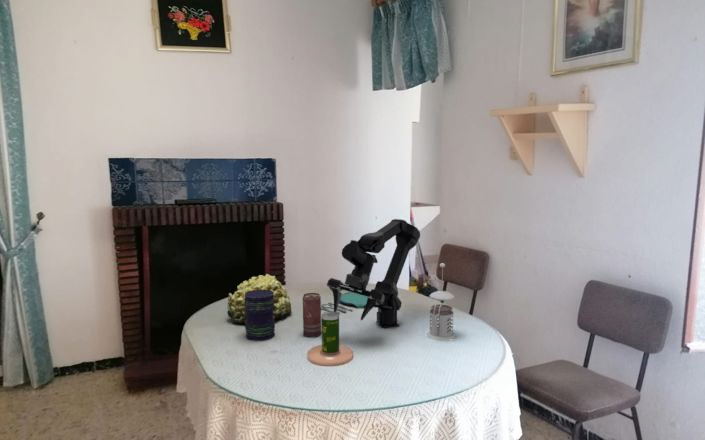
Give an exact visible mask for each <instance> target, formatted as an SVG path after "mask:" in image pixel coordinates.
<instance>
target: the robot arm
mask: <svg viewBox="0 0 705 440" xmlns="http://www.w3.org/2000/svg"><path fill="white" fill-rule="evenodd" d="M394 237H395V239H394V240H395V242H396V247H395V249H394V252H393V255H392V257H391V260H390V263H389V266H388V268H387V271H386V273H385V275H384V278H383V279H382V280H381V281H380V280H378V281H377V282H376V283H375V287H374V289H373V288H371V290H369V291H366V290H367V286H368V285H369V282H370V281H369V280H370V277H371V273H372V270H373V267H374V264H378V263H379V262H378V259H377V257H376V255H375V254H379V253H381V251H383V249H384V248H385V244H386V243H387V242H388V241H389V240H391V239H392V238H394ZM420 237H421V232H420V230H419V229H418V227H416V226H415V225H413V224H410V223H408V222H407V221H406V219H405V220H404V219H400V218H397V219H396V218H395V219H391V220H390V222H389V223H387V224H386V225H384V226H383V227H381V228H380V229H378V230H377V231H373V232H368V233H365V234H362V236H361V237H360V238H359V239H358V240H354V239H351V240H350V242H349V243H347V244H346V245H345V246H343V248H342V250H341V257H342V258H344V260H346V261H347V262H348V263H350V264H351V265H352V266H354V268H353V269H352V271H351V273H347V274H346V277H345V281H344V283H343V282H342V281H341V280H340V279H335V278H333V277H331V278H329V279H328V280H327V283H326V286H327V287H328V288H329V290H330V291H331V292H332V296H333V304H334V305H333V308H334V309H333V311H334V312H338V310H337V308H338V309H339V307H338V305H339V304H340V298H341V295H342V294H343V293H342V291H346V292H347V293H348V292H352V293H356V294H359V295H363V296H367V297H370V298H368V299H367V303H366V305H365V306H364V307H363V308H364V309H363V311H362V314H361V315H360V316H361V317H360V321H363V320H364V319H365V318H366V316H367V315H368V314H369V312H370V311H371V310H372V309H373V308H377V312H376V322H375V323H376V324H377V325H379V326H380V327H381V328H383V329H384V328H385V329H386V328H393V327H399V326H400V324H399V323H398V311H400V309H401V308H402V304H403V303H402V301H401V300H400V298H399V291H398V286H397V285H398V282H399V279H400V277H401V274H402V271H403V269H404V267H405V263H406V261H407V258H408V255H409V252H410V251H411V250H412V249H413V248H414V247H416V245H417V244H418V242H419V240H420V239H421V238H420ZM370 253H373V254H370ZM358 290H359V291H362V292H359V291H358ZM370 291H371V292H370ZM339 306H340V305H339Z"/></svg>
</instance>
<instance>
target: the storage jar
mask: <svg viewBox="0 0 705 440" xmlns="http://www.w3.org/2000/svg"><path fill="white" fill-rule="evenodd" d="M273 295H274V292H273V291H271V290H264V289H260V290H252V291H248V292H246V293H245V311H246V322H245V323H244V324H245V334H246V335H245V338H246V340H248V341H251V342H264V341H269V340H271V339H273V338H274V337H275V334H276V333H275V330H276V329H275V328H276V324H275V323H276V322H275V321H274V314H273V309H274V296H273Z"/></svg>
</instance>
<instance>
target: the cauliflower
mask: <svg viewBox="0 0 705 440" xmlns="http://www.w3.org/2000/svg"><path fill="white" fill-rule="evenodd" d="M277 279H278V278H276V276H275V275H270V274H268V273H266V274H265V275H261V274H259V275H258V276H252V277H250V278H249V279H248V280H244V281H242V282H241V283H240V284H239V285H237V287H236V288H237V290H236V291H234V293H233V294H232V293H231V292H229V293H228V297H226V298H227V301H228V302H227V316H228V317H230V320H231V321H232V322H233V323H236V324H237V323H238V324H245V322H246V311H245V293H246V292H248V291H252V290H260V289H264V290H271V291H273V292H274V295H273V296H274V309H273V314H274V321H275V323H276V322H277V321H280V320H282V319H283V318H285V319H286V318H288V316H291V315H292V313H293V312H292V303H291V301H290V296H289V295H288V289H286V288H285V287H284V286H283V285H282V282H280V281H279V280H277Z"/></svg>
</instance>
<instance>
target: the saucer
mask: <svg viewBox="0 0 705 440" xmlns="http://www.w3.org/2000/svg"><path fill="white" fill-rule="evenodd" d="M306 355H307V357H306V359H307V361H308V362H310V363H312V364H314V365H317V366H321V367H322V366H323V367H335V366H342V365H345V364H347V363H349V362H350V361H352V360H353V358H354V350H353V349H352V348H351V347H349V346H346V345H344V344H339V352H338V353H337V354H335V355H326V354H324V353H323V352H322V344H319V345H315V346H313V347H311V348H309V349H308V351H307V354H306Z"/></svg>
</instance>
